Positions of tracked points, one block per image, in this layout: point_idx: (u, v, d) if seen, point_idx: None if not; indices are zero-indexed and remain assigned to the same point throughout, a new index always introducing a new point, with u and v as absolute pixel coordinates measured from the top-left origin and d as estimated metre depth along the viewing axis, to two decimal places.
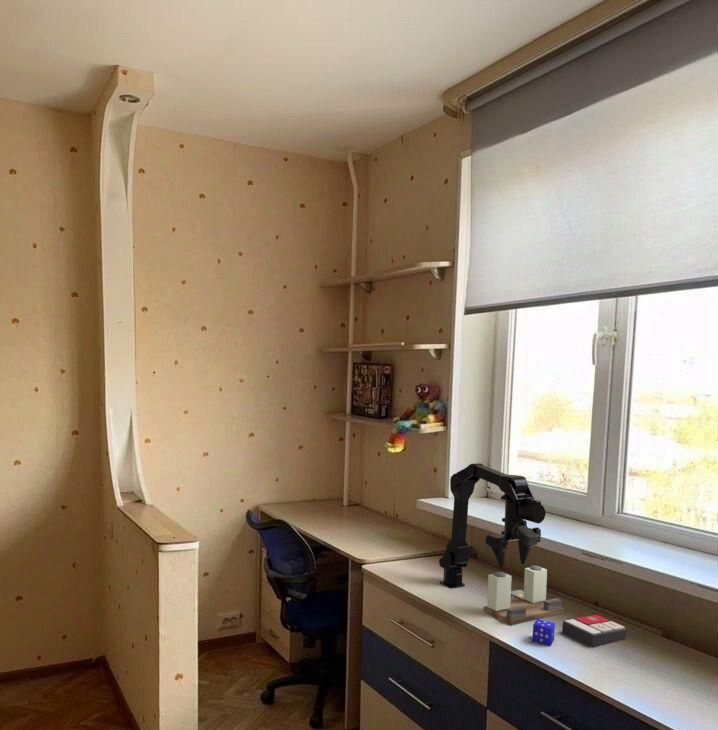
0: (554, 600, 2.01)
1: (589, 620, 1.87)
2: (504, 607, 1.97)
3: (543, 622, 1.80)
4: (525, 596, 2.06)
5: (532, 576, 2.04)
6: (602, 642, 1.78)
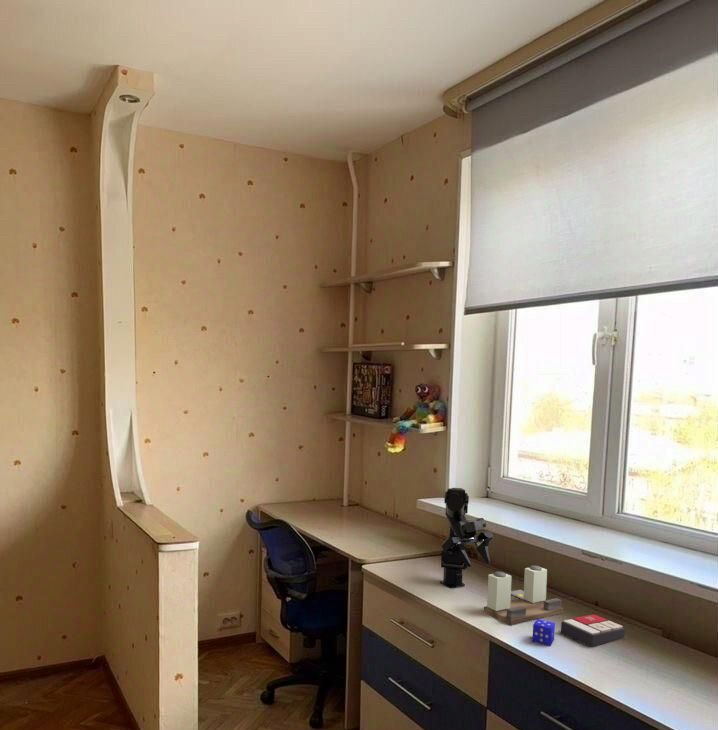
0: (554, 600, 2.01)
1: (587, 620, 1.87)
2: (504, 607, 1.97)
3: (543, 622, 1.80)
4: (525, 596, 2.06)
5: (532, 576, 2.04)
6: (601, 642, 1.78)
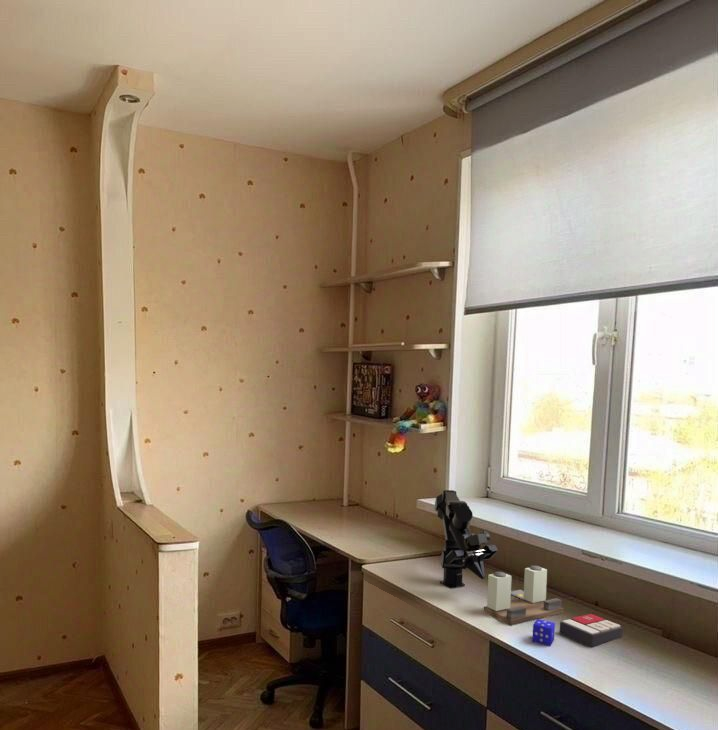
0: (554, 600, 2.01)
1: (585, 620, 1.87)
2: (504, 607, 1.97)
3: (543, 622, 1.80)
4: (525, 596, 2.06)
5: (532, 576, 2.04)
6: (600, 641, 1.78)
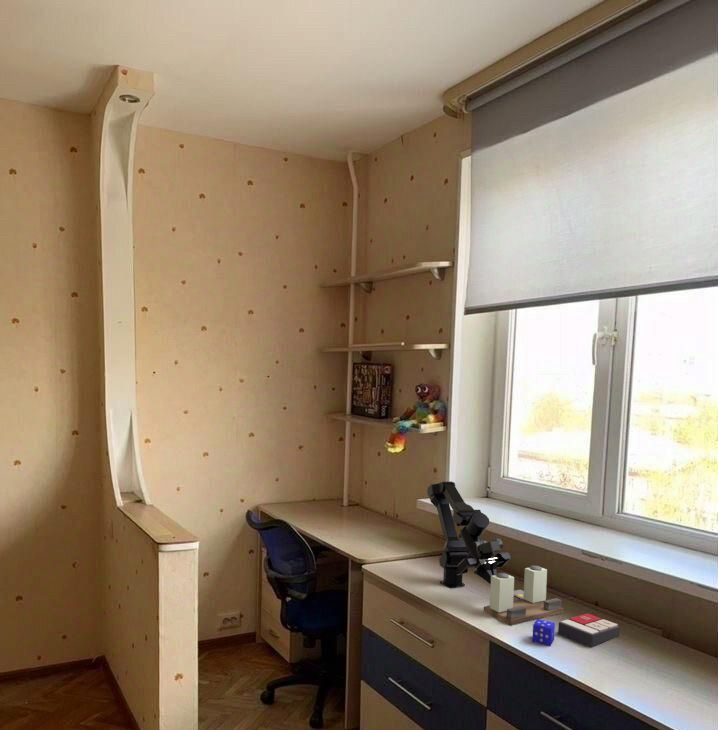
0: (554, 600, 2.01)
1: (583, 619, 1.87)
2: (507, 608, 1.96)
3: (543, 622, 1.80)
4: (525, 596, 2.06)
5: (532, 576, 2.04)
6: (600, 641, 1.79)
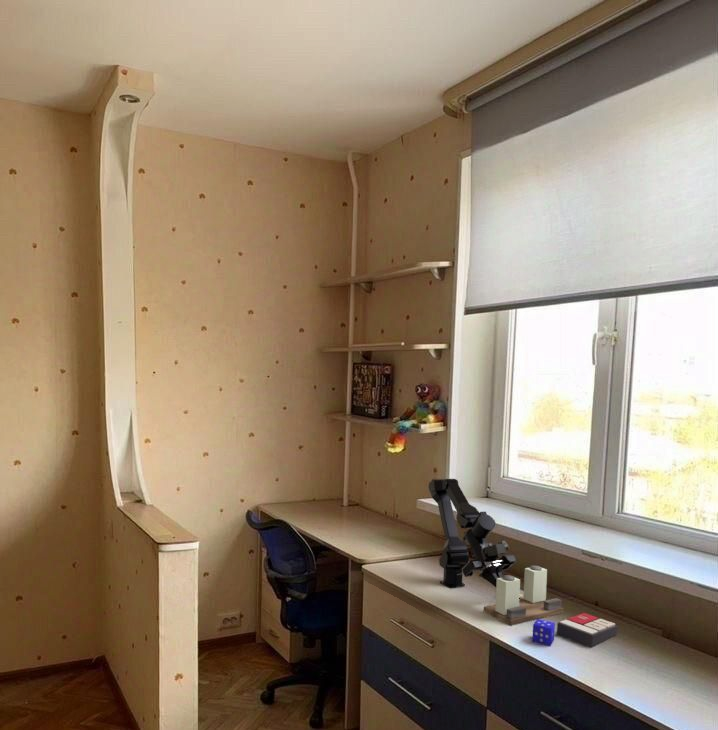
0: (554, 600, 2.01)
1: (581, 619, 1.87)
2: None
3: (543, 622, 1.80)
4: (525, 596, 2.06)
5: (532, 576, 2.04)
6: (599, 641, 1.79)
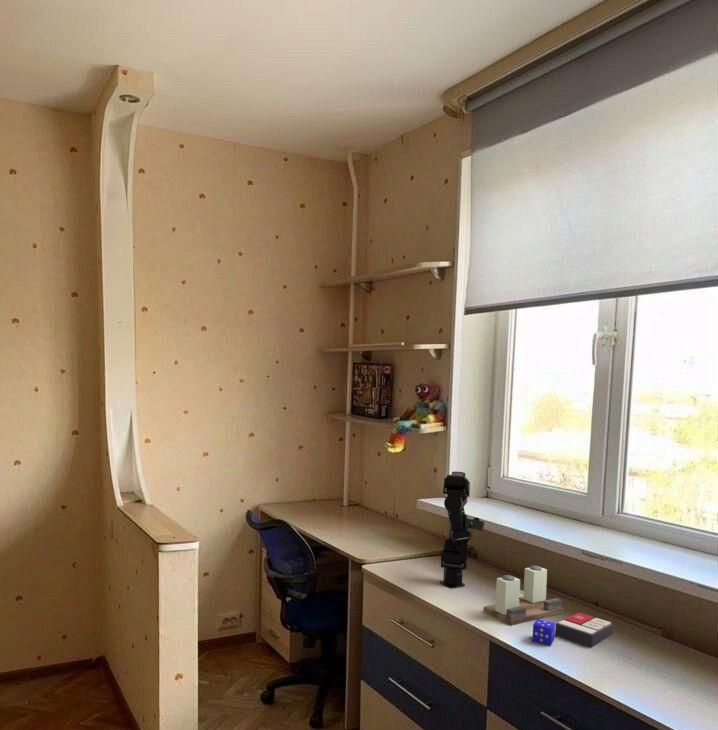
0: (554, 600, 2.01)
1: (578, 619, 1.87)
2: None
3: (543, 622, 1.80)
4: (525, 596, 2.06)
5: (532, 576, 2.04)
6: (598, 641, 1.79)
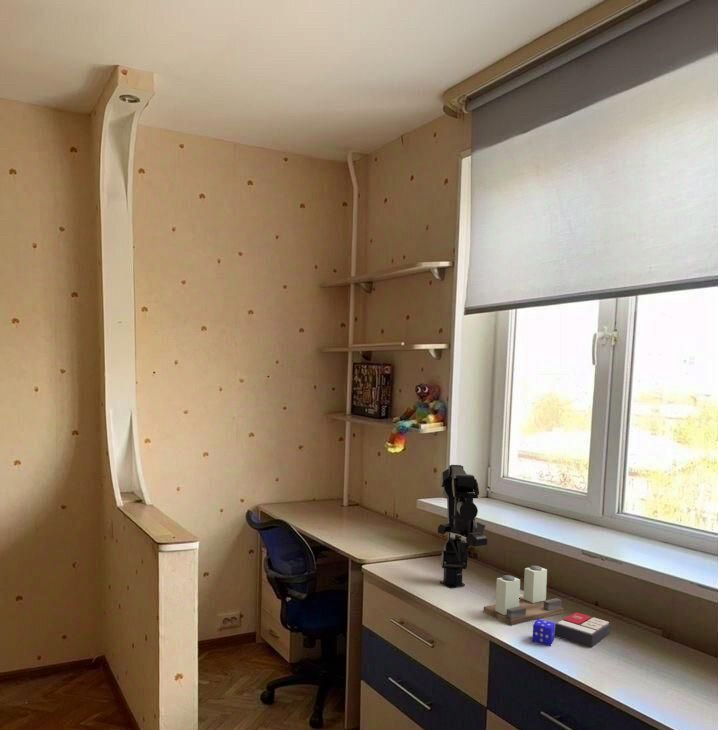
0: (554, 600, 2.01)
1: (576, 619, 1.87)
2: None
3: (543, 622, 1.80)
4: (525, 596, 2.06)
5: (532, 576, 2.04)
6: (597, 640, 1.79)
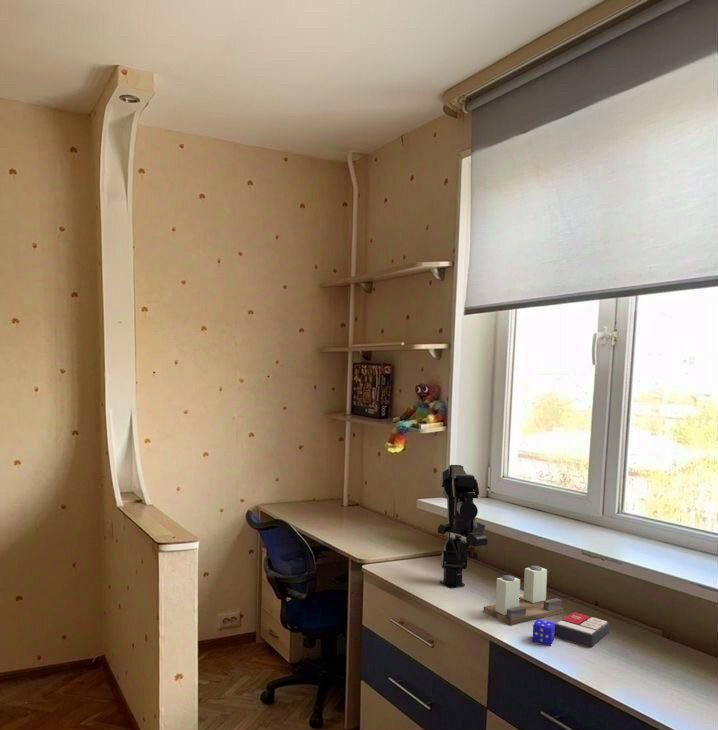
0: (554, 600, 2.01)
1: (575, 619, 1.87)
2: None
3: (543, 622, 1.80)
4: (525, 596, 2.06)
5: (532, 576, 2.04)
6: (596, 640, 1.79)
